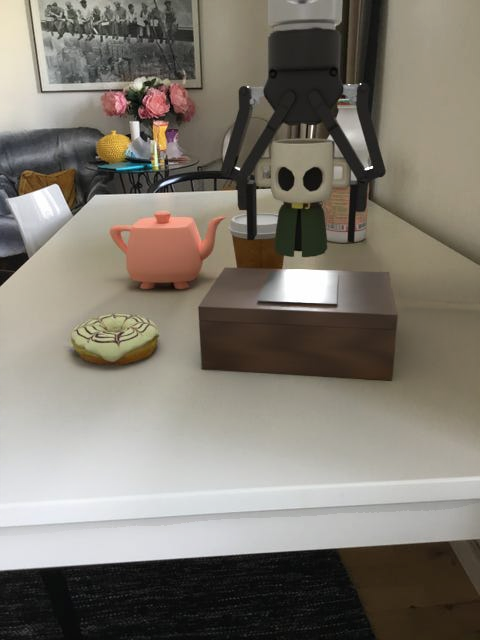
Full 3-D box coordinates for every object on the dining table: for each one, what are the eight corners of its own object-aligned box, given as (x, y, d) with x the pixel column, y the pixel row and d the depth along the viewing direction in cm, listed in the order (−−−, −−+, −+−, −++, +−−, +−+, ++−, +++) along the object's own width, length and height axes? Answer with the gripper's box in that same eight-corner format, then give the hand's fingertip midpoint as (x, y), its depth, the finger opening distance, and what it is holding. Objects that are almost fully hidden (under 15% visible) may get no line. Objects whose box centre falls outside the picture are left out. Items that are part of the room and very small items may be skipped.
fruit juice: (325, 244, 118) (330, 100, 107) (318, 233, 126) (322, 99, 116) (370, 243, 118) (379, 98, 107) (360, 232, 126) (368, 97, 116)
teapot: (105, 292, 93) (96, 220, 89) (124, 270, 104) (117, 205, 100) (226, 292, 92) (223, 219, 87) (232, 270, 103) (230, 204, 98)
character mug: (250, 261, 65) (248, 144, 60) (260, 245, 72) (259, 138, 67) (345, 265, 63) (352, 143, 58) (347, 248, 70) (353, 137, 65)
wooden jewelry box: (384, 327, 77) (389, 270, 74) (392, 380, 63) (398, 312, 60) (226, 320, 81) (224, 265, 78) (201, 369, 67) (197, 304, 64)
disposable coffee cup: (246, 279, 98) (244, 210, 93) (298, 286, 94) (299, 214, 89) (220, 297, 90) (217, 222, 85) (275, 305, 86) (275, 227, 81)
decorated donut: (118, 378, 66) (114, 348, 64) (56, 357, 71) (52, 329, 70) (175, 344, 74) (173, 318, 72) (116, 328, 79) (113, 303, 78)
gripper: (185, 31, 57) (196, 244, 65) (426, 21, 53) (405, 249, 61) (202, 36, 64) (211, 228, 72) (418, 28, 60) (400, 232, 68)
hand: (300, 238), depth 67 cm, fingers closed on character mug, 11 cm apart
